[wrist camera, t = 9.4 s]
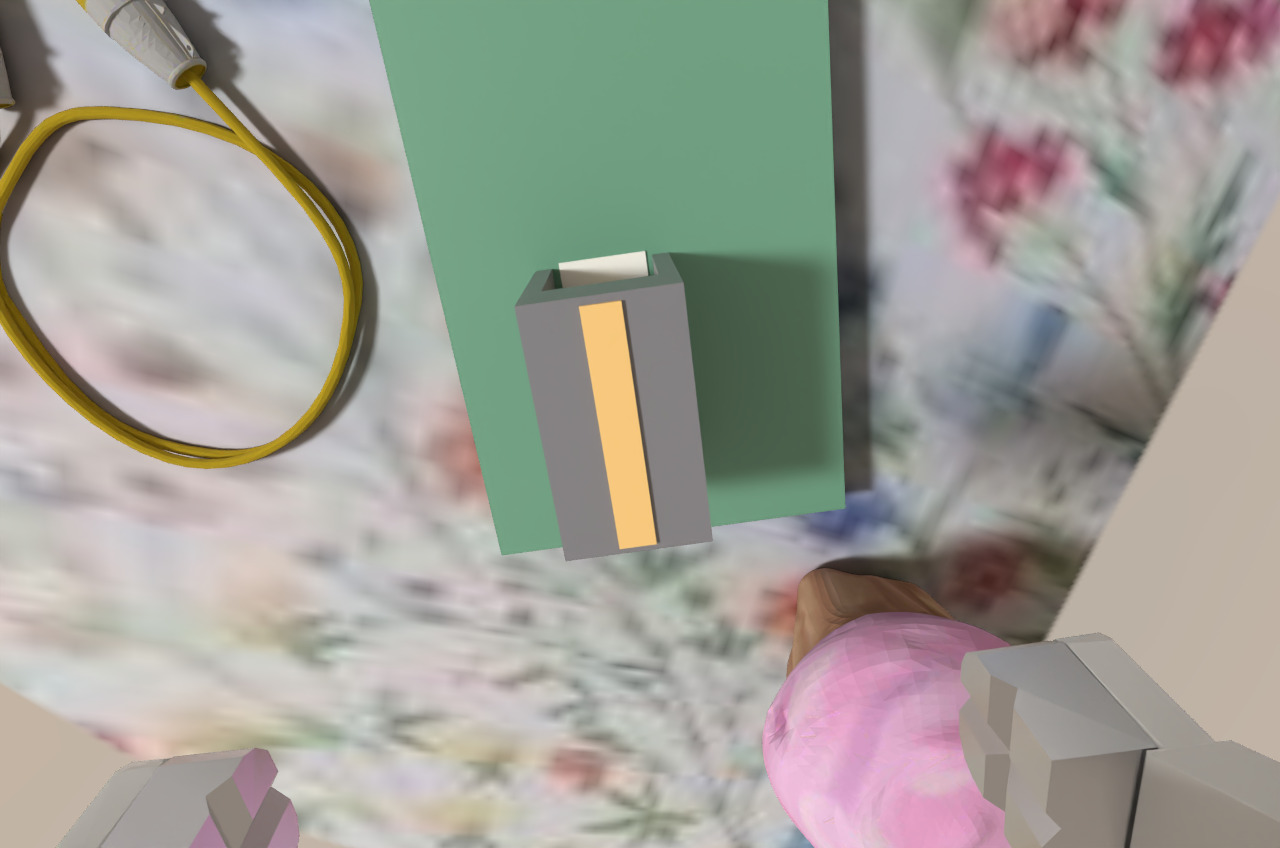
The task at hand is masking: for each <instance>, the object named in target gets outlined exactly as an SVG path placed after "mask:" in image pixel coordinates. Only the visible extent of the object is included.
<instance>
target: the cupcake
mask: <svg viewBox="0 0 1280 848" xmlns="http://www.w3.org/2000/svg"><path fill="white" fill-rule="evenodd" d="M1009 646H1011V645H1010V644H1008V643H1007V642H1005V641H1003V640H1002V639H1000V638H998V637H996V636H995V635H993V634H991V633H989V632H987V631H985V630H983V629H980V628H978V627H976V626H973V625H970V624H967V623H963V622H960V621H956V620H955V619H954V618H953V617H952V616H951V615H950V614H949V613H948V612H947V610H946V609H944V608H943V607H942V606H941V605H939V604H938V603H937V602H936V601H935V600H934V599H933V598H932V597H930V595H929V594H928V593H927V592H925V591H923V590H922V589H921V588H919V587H918V586H916V585H915V584H913V583H909V582H904V581H898V580H893V579H886V578H881V577H877V576H873V575H855V574H849V573H845V572H842V571H838V570H834V569H828V568H821V569H816V570H813V571H811V572H809V573H808V574H807V575H805V576H804V577H803V579H802V580H801V582H800V584H799V587H798V592H797V613H796V620H795V629H794V640H793V647H792V650H791V653H790V657H789V660H788V665H787V678H786V681H785V682H784V684H783V685H782V687H781V689H780V690H779V692H778V694H777V696H776V697H775V699H774V701H773V703H772V705H771V706H770V708H769V710H768V712H767V716H766V721H765V726H764V731H763V742H762V744H763V755H764V762H765V766H766V770H767V773H768V776H769V779H770V782H771V785H772V787H773V789H774V792H775V794H776V796H777V798H778V800H779V801H780V803H781V805H782V807H783V808H784V810H785V811H786V812H787V814H788V815H789V817H790V818H791V820H792V821H793V822H794V824H795V825H796V826H797V827H798V828H799V829H800V831H801V832H802V833H803V834H804V836H805V837H806V838H807V839H808V840H809V841H810V843H811V844H812V845H813V846H814V847H815V848H1011V846H1010V844H1009V842H1008V841H1007V839H1006V837H1005V835H1004V823H1005V812H1004V811H1003V810H1001V809H1000V808H998V807H997V806H995V805H994V804H992V803H991V802H989V801H988V800H986V799H985V798H983V796H982V794H981V792H980V791H979V789H978V787H977V785H976V783H975V781H974V780H973V778H972V775H971V773H970V770H969V768H968V765H967V763H966V760H965V758H964V753H963V748H962V744H961V739H960V735H959V710H960V709H961V708H962V707H963V705H964V704H965V703H966V702H967V701H968V699H969V698H970V697H971V696H970V695H969V693H968V691H967V690H966V688H965V687H964V685H963V684H962V682H961V663H962V660H963V658H964V656H965V654H966V652H973V651H980V650H987V649H994V648H1001V647H1009Z"/></svg>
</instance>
